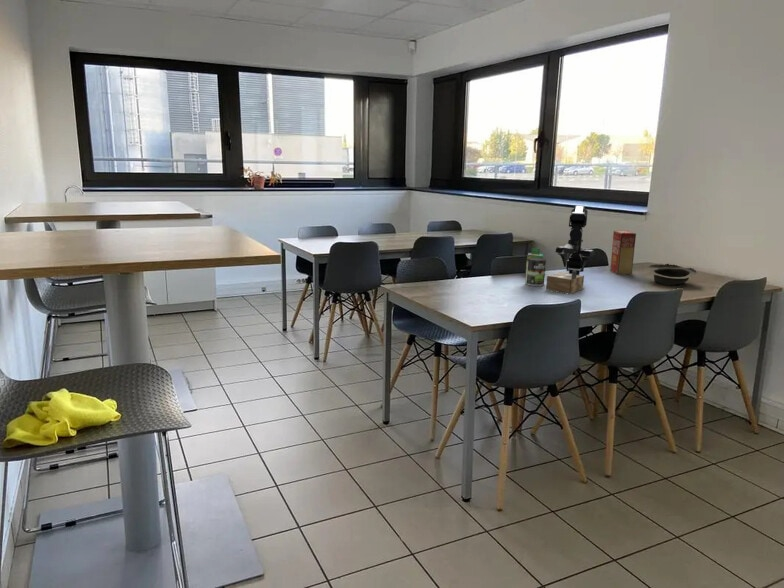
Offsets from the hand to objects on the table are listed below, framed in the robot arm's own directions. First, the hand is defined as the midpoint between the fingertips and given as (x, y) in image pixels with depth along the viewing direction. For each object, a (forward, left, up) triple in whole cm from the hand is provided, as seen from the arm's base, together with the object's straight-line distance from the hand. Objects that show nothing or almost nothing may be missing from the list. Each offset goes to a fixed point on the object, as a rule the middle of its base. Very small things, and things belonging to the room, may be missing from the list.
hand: (573, 268), depth 292 cm
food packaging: (-74, -4, -13) cm, 75 cm away
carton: (-5, -6, -13) cm, 15 cm away
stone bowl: (-65, +28, -14) cm, 72 cm away
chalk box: (-33, -40, -13) cm, 54 cm away
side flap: (-5, +1, -13) cm, 14 cm away
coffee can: (-6, -24, -13) cm, 28 cm away
